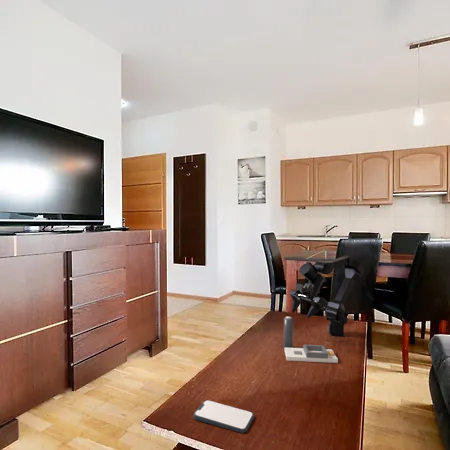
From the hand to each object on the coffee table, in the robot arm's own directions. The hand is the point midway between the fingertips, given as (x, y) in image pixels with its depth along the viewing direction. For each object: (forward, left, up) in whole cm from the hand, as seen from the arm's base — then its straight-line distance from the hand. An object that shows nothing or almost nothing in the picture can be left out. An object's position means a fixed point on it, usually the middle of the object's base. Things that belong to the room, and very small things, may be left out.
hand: (299, 314), depth 145 cm
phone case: (+29, +57, -14) cm, 66 cm away
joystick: (+5, +4, -14) cm, 15 cm away
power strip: (-3, +12, -14) cm, 19 cm away
